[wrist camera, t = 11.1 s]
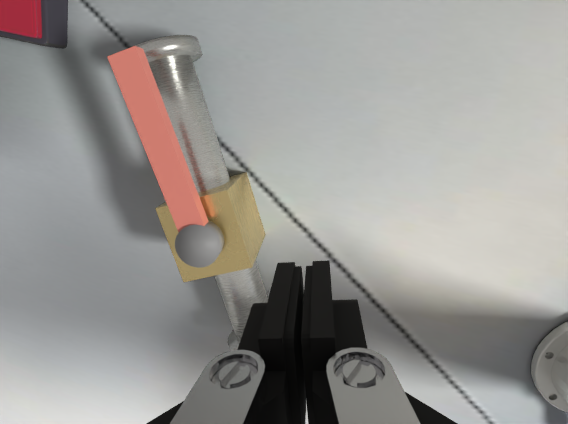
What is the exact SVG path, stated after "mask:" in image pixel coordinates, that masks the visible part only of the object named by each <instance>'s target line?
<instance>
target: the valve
mask: <svg viewBox="0 0 568 424" xmlns="http://www.w3.org/2000/svg"><path fill="white" fill-rule="evenodd" d="M136 46H137V47H140V48H143V50H144V52H145V55H146V58H147V60H148V63H149V66H150V68H151V71H152V73H153V76H154V79H155V81H156V84H157V87H158V89H159V92H160V95H161V97H162V100H163V102H164V105H165V108H166V110H167V113H168V116H169V118H170V121H171V124H172V126H173V129H174V132H175V134H176V137H177V139H178V142H179V145H180V147H181V150H182V153H183V155H184V158H185V161H186V163H187V166H188V168H189V171H190V174H191V176H192V179H193V182H194V184H195V187H196V190H197V192H198V195H199V197H200V200H201V203H202V205H203V208H204V211H205V213H206V216H207V219H208V220H209V221H211V222H213V223H215V224H216V225H217V226H218V227H219V228H220V229H221V231H222V233H223V236H224V247H223V249H222V251H221V253H220V254H219V256H218V257H217V259H216V260H215V261H214V262H213V263H212V264H211V265H209V266H206V267H202V268H197V267H192V266H190V265H188V264H186V263H184V262H183V261H182V260H181V259H180V258H179V256H178V254H177V252H176V249H175V239H176V236H177V235H178V230H177V228H176V225H175V223H174V220H173V218H172V215H171V213H170V210H169V208H168V205H167V203H166V202H165V203H163V204H162V205H160V206H158V207H157V208H155V209H156V211H157V214H158V217H159V219H160V222H161V225H162V227H163V230H164V232H165V235H166V238H167V240H168V243H169V245H170V248H171V251H172V253H173V256H174V259H175V261H176V264H177V266H178V269H179V272H180V274H181V277H182V279H183V282H187V281H192V280H197V279H201V278H206V277H211V276H215V279H216V282H217V285H218V288H219V290H220V293H221V296H222V299H223V302H224V304H225V307H226V310H227V313H228V316H229V318H230V321H231V324H232V327H233V331H232V332H231V334H230V335H229V338H228V345H229V348H230V351H234V350H237V349H238V346H239V343H240V340H241V337H242V334H243V331H244V328H245V325H246V322H247V319H248V316H249V313H250V310H251V307H252V305H253V303H267V302H268V297H267V294H266V291H265V287H264V284H263V281H262V278H261V275H260V272H259V268H258V265H257V262H256V257H257V254H258V252H259V249H260V247H261V245H262V242H263V240H264V237H265V232H264V229H263V225H262V222H261V219H260V216H259V212H258V209H257V206H256V202H255V199H254V196H253V192H252V189H251V186H250V183H249V179H248V176H247V173H242V174H238V175H234V176H230V177H229V174H228V171H227V168H226V165H225V161H224V158H223V155H222V152H221V149H220V146H219V143H218V139H217V136H216V133H215V130H214V127H213V124H212V121H211V117H210V114H209V111H208V108H207V105H206V102H205V99H204V95H203V92H202V89H201V86H200V83H199V80H198V77H197V73H196V70H195V67H194V64H193V62H194V61H196V60H198V59H199V58H200V57H201V56H202V51H201V48H200V45H199V41H198V39H197V38H196V37H194V36H190V35H174V36H167V37H161V38H157V39H153V40H149V41H146V42H143V43H140V44H138V45H136Z"/></svg>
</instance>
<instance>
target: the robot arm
mask: <svg viewBox="0 0 568 424" xmlns="http://www.w3.org/2000/svg"><path fill="white" fill-rule="evenodd" d="M531 375H532V379H533V382H534V384H535V386H536V388H537V390H538V391H539V392H540V393H541V395H542V396H543V397H544V399H546V400H547V401H548V402H549V403H550V404H551V405H553V406H554V407H556V408H558V409H559V410H562V411H564V412H567V413H568V321H567V322H565V323H563V324H562V325H560V326H559V327H557V328H555V329H554V330H553V331H552V332H550V333H549V334H548V335H547V336H546V337H545V338H544V339H543V340H542V342H541V343H540V344H539V346H538V347H537V349H536V351H535V353H534V355H533V359H532V363H531ZM306 400H307V411H308V422H309V424H457V423H455V422H454V421H452V420H450V419H449V418H447V417H446V416H444V415H442V414H441V413H439V412H437V411H436V410H434V409H432V408H431V407H429V406H427V405H426V404H424V403H422V402H421V401H419V400H417V399H416V398H414V397H413V396H411V395H409V394H408V393H406V392H404V390H403V388H402V386H401V384H400V382H399V380H398V378H397V376H396V374H395V372H394V370H393V368H392V366H391V364H390V363H389V362H388V360H387V359H386V358H385V357H384V356H382V355H381V354H379V353H378V352H375V351H373V350H370V349H367V345H366V340H365V335H364V330H363V325H362V320H361V315H360V311H359V306H358V301H357V300H332V291H331V277H330V263H329V261H313V265H312V266H306V276H305V290H304V289H303V278H302V268H301V266H297V267H295V262H289V263H278V264H277V268H276V271H275V275H274V279H273V283H272V287H271V291H270V295H269V298H268V302H267V303H253V305H252V307H251V310H250V313H249V316H248V319H247V322H246V325H245V328H244V331H243V334H242V337H241V340H240V343H239V346H238V349H237V350H234V351H229V352H226V353H224V354H221V355H219V356H217V357H216V358H215V359H213V360H212V361H211V362H210V363H209V364H208V365H207V366H206V367H205V369H204V371H203V372H202V374H201V375H200V377H199V378H198V380H197V382H196V383H195V385H194V386H193V388H192V389H191V391H190V393H189V394H188V396H187V397H186V399H185V400H184V401H183V402H182V403H180V404H178V405H177V406H175V407H173V408H172V409H170V410H168V411H167V412H165V413H163V414H162V415H160V416H158V417H157V418H155V419H153V420H152V421H150V422H148V423H147V424H305V413H306Z"/></svg>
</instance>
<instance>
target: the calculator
mask: <svg viewBox="0 0 568 424" xmlns="http://www.w3.org/2000/svg"><path fill="white" fill-rule="evenodd" d="M67 21H68V0H0V36H1V37H6V38H10V39H15V40H20V41H24V42H29V43H34V44H38V45H43V46H49V47H56V48H66V46H67Z"/></svg>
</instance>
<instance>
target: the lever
mask: <svg viewBox="0 0 568 424" xmlns="http://www.w3.org/2000/svg"><path fill="white" fill-rule="evenodd" d="M107 58H108V60H109V62H110V65H111V67H112V70H113V72H114V75H115V77H116V80H117V82H118V85H119V87H120V90H121V92H122V95H123V97H124V99H125V102H126V104H127V107H128V109H129V112H130V114H131V117H132V119H133V122H134V124H135V127H136V129H137V132H138V134H139V136H140V139H141V141H142V144H143V146H144V149H145V151H146V154H147V156H148V159H149V161H150V164H151V166H152V168H153V171H154V173H155V176H156V178H157V181H158V183H159V186H160V188H161V191H162V193H163V196H164V198H165V201H166V203H167V205H168V208H169V210H170V213H171V215H172V218H173V220H174V223H175V225H176V228H177V230H178V235H177V236H176V239H175V249H176V252H177V254H178V256H179V258H180V259H181V260H182V261H183V262H184V263H186V264H188V265H190V266H192V267H197V268H202V267H206V266H209V265H211V264H212V263H213V262H214V261H215V260H216V259H217V257H218V256H219V254H220V253H221V251H222V249H223V247H224V236H223V233H222V231H221V229H220V228H219V227H218V226H217V225H216V224H215V223H213V222H211V221H209V220H208V219H207V216H206V213H205V211H204V208H203V205H202V203H201V200H200V197H199V195H198V192H197V190H196V187H195V184H194V182H193V179H192V176H191V174H190V171H189V168H188V166H187V163H186V161H185V158H184V155H183V153H182V150H181V147H180V145H179V142H178V139H177V137H176V134H175V132H174V129H173V126H172V124H171V121H170V118H169V116H168V113H167V110H166V108H165V105H164V102H163V100H162V97H161V95H160V92H159V89H158V87H157V84H156V81H155V79H154V76H153V73H152V71H151V68H150V66H149V63H148V60H147V58H146V55H145V52H144V50H143V48H140V47H137V46H133V47H131V48H128V49H125V50H123V51H120V52H118V53H115V54H112V55H110V56H107Z"/></svg>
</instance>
